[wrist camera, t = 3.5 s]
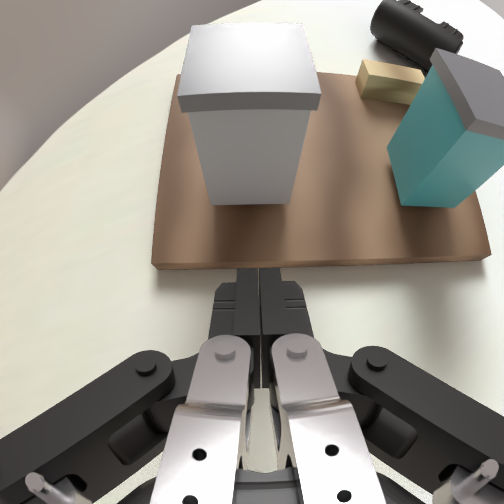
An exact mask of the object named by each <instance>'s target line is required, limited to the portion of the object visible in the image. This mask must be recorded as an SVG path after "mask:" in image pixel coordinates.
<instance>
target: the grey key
mask: <svg viewBox="0 0 504 504" xmlns="http://www.w3.org/2000/svg"><path fill="white" fill-rule="evenodd" d="M177 97H178V101H179V105H180V109H181V113H187V112H188V116H189V120H190V124H191V128H192V132H193V136H194V140H195V144H196V149H197V153H198V157H199V161H200V165H201V169H202V172H203V176H204V180H205V184H206V188H207V192H208V196H209V200H210V204H211V205H244V204H289V203H290V198H291V194H292V190H293V186H294V182H295V178H296V173H297V169H298V165H299V161H300V156H301V152H302V148H303V144H304V139H305V135H306V130H307V126H308V122H309V117H310V113H311V110H313V111H317V110H318V106H319V102H320V98H321V89H320V85H319V81H318V77H317V73H316V69H315V65H314V61H313V57H312V54H311V50H310V46H309V43H308V39H307V36H306V32H305V29H304V25H303V24H294V23H263V22H252V23H221V24H206V25H194V26H192V27H191V32H190V36H189V40H188V45H187V49H186V54H185V58H184V63H183V68H182V73H181V78H180V83H179V88H178V94H177Z"/></svg>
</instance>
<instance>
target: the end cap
mask: <svg viewBox="0 0 504 504" xmlns="http://www.w3.org/2000/svg"><path fill="white" fill-rule="evenodd" d="M422 11H423V8H421V7H420V6H417V5H416V4H414V3H412V2H411V1H410V0H409V1H408V0H399V1H396V0H383V1H382V2H381V3H380V5H379V6H378V8H377V9H376V11H375V13H374V15H373V18H372V21H371V26H370V30H371V33H372V35H374V36H375V38H376V39H377V40H379V41H381V42H383V43H384V44H386V45H388V46H389V47H391V48H393V49H394V50H396V51H398V52H399V53H401V54H402V55H404V56H405V57H407V58H409V59H410V60H412V61H413V62H415V63H416V64H418V65H419V66H421V67H422V68H424V69H425V70H426V71H428V72H429V70H430V68H431V66H432V63H431V61H430V58H431V56H432V54H433V52H434V50H435V48H438V49H442V50H445V51H448V52H451V53H454V54H457V53H458V52H459V50H460V48H461V46H462V44H463V42H462V40H463V35H462V33H460V32H459V31H458V30H457V29H455V28H453V27H452V26H450V25H449V24H448V23H445V22H442V23H441V24H436V23H435V22H433V21H432V20H430V19H428V18H427V17H425V16H423V15H422V14H420V13H421V12H422Z"/></svg>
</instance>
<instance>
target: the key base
mask: <svg viewBox="0 0 504 504" xmlns="http://www.w3.org/2000/svg"><path fill="white" fill-rule="evenodd" d="M316 73H317V77H318V81H319V85H320V89H321V98H320V102H319V106H318V110H317V111H313V110H311V113H310V117H309V122H308V126H307V130H306V135H305V139H304V144H303V148H302V152H301V156H300V161H299V165H298V169H297V173H296V178H295V182H294V186H293V190H292V194H291V198H290V203H289V204H244V205H211V204H210V200H209V196H208V192H207V188H206V184H205V180H204V176H203V172H202V169H201V165H200V161H199V157H198V153H197V149H196V144H195V140H194V136H193V132H192V128H191V124H190V120H189V116H188V112H187V113H181V109H180V105H179V101H178V97H177V94H178V88H179V83H180V78H181V74H178V75H177V77H176V82H175V87H174V92H173V97H172V102H171V107H170V113H169V118H168V124H167V130H166V136H165V143H164V149H163V156H162V163H161V170H160V178H159V186H158V194H157V203H156V213H155V223H154V234H153V246H152V259H151V264H152V265H153V266H155V267H156V268H157V269H218V268H269V267H309V266H343V265H374V264H401V263H426V262H449V261H470V260H482V259H484V258H486V257H488V256H490V255H491V250H490V245H489V241H488V236H487V232H486V228H485V224H484V220H483V216H482V212H481V209H480V205H479V202H478V198H477V195H476V192H475V191H474V192H473V193H472V194H471V195H469V196H468V197H467V198H466V199H465V200H464V201H462V202H461V203H460V204H459V205H458V206H456V207H455V208H446V207H426V206H401V203H400V199H399V194H398V190H397V186H396V181H395V177H394V173H393V169H392V166H391V162H390V158H389V154H388V151H387V145H388V144H389V142H390V140H391V139H392V137H393V135H394V133H395V132H396V130H397V128H398V127H399V125H400V123H401V121H402V120H403V118H404V116H405V114H406V112H407V111H408V109H409V107H410V105H411V103H412V102H413V100H414V98H415V96H416V94H417V93H418V91H419V89H420V87H421V85H422V83H423V82H424V80H425V77H424V75H423V73H422V72H421V70H419V69H414V68H410V67H405V66H400V65H395V64H390V63H384V62H378V61H372V60H366V59H363V60H362V63H361V66H360V69H359V72H358V75H357V76H352V75H343V74H333V73H321V72H316Z"/></svg>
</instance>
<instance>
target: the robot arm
mask: <svg viewBox="0 0 504 504" xmlns="http://www.w3.org/2000/svg"><path fill="white" fill-rule="evenodd" d="M259 315H260V316H259ZM260 341H261V365H262V388H269V392H270V406H269V408H270V416H271V422H272V429H273V435H274V442H275V448H276V455H277V470H278V471H275V472H271V473H259V472H254V471H249V470H248V453H249V442H250V431H251V420H252V406H253V403H254V388H260ZM162 451H164V452H163V455H162V459H161V463H160V467H159V470H158V474H157V477H155V478H153V479H150V480H148V481H146V482H145V483H143V484H141V485H140V486H138V487H137V488H136V489H134V490H133V491H132V492H131V493H129V494H128V495H127V496H126V497H124V498H123V499H122V500H121V501H119V502H118V503H117V504H425V503H424V502H423V501H421V500H420V499H418V498H417V497H415V496H414V495H413V494H411V493H410V492H408V491H407V490H405V489H404V488H403V487H401V486H400V485H399V484H397V483H396V482H394V481H393V480H392V479H390V478H388V477H386V476H385V475H383V474H381V473H378V472H376V471H375V468H374V465H373V463H372V460H371V457H370V454H369V452H370V453H371V454H372V455H374V456H375V457H377V458H378V459H379V460H381V461H382V462H384V463H385V464H387V465H388V466H390V467H391V468H392V469H394V470H395V471H397V472H398V473H400V474H401V475H403V476H404V477H406V478H407V479H409V480H410V481H412V482H414V483H415V484H417V485H418V486H420V487H421V488H423V489H424V490H426V491H428V492H429V493H431V494H432V495H433V500H432V501H433V504H504V417H503V416H502V415H500V414H498V413H496V412H495V411H493V410H491V409H489V408H488V407H486V406H484V405H482V404H481V403H479V402H477V401H475V400H474V399H472V398H470V397H468V396H467V395H465V394H463V393H462V392H460V391H458V390H456V389H455V388H453V387H451V386H449V385H448V384H446V383H444V382H443V381H441V380H439V379H437V378H436V377H434V376H432V375H431V374H429V373H427V372H425V371H424V370H422V369H420V368H419V367H417V366H415V365H413V364H412V363H410V362H408V361H407V360H405V359H403V358H402V357H400V356H398V355H396V354H395V353H393V352H391V351H390V350H388V349H386V348H383V347H379V346H367V347H363V348H361V349H359V350H358V351H356V352H355V353H354V355H353V357H349V356H342V355H337V354H333V353H330V352H328V351H326V350H324V349H323V348H322V347H321V345H320V343H319V342H318V341H317V340H316V339H314V336H313V332H312V327H311V323H310V319H309V315H308V311H307V308H306V302H305V298H304V294H303V290H302V288H301V287H300V286H299V285H298V284H297V283H296V282H295V281H282V280H281V274H280V269H279V268H259V293H258V270H257V268H248V269H237V280H236V282H232V283H222V284H221V285H220V286H219V288H218V289H217V290H216V291H215V298H214V304H213V311H212V317H211V324H210V331H209V337H208V340H207V341H206V342H205V343H204V344H203V345H202V346H201V348H200V351H199V353H197V354H196V355H194V356H191V357H189V358H185V359H181V360H176V361H170V359H169V357H168V356H166V355H165V354H164V353H162V352H159V351H154V350H147V351H141V352H138V353H136V354H134V355H132V356H131V357H129V358H128V359H126V360H124V361H123V362H121V363H120V364H118V365H117V366H115V367H114V368H112V369H111V370H109V371H108V372H106V373H105V374H103V375H101V376H100V377H98V378H97V379H95V380H94V381H92V382H91V383H89V384H87V385H86V386H84V387H83V388H81V389H80V390H78V391H77V392H75V393H73V394H72V395H70V396H69V397H67V398H66V399H64V400H62V401H61V402H59V403H58V404H56V405H55V406H53V407H51V408H50V409H48V410H47V411H45V412H44V413H42V414H40V415H39V416H37V417H36V418H34V419H32V420H31V421H29V422H28V423H26V424H24V425H23V426H21V427H20V428H18V429H16V430H15V431H13V432H11V433H10V434H8V435H7V436H5V437H3V438H2V439H0V504H93V503H94V502H96V501H97V500H98V499H100V498H101V497H103V496H104V495H106V494H107V493H108V492H110V491H111V490H113V489H114V488H115V487H117V486H118V485H119V484H121V483H122V482H124V481H125V480H126V479H128V478H129V477H130V476H132V475H133V474H134V473H136V472H137V471H138V470H140V469H141V468H142V467H143V466H145V465H146V464H147V463H149V462H150V461H151V460H152V459H154V458H155V457H156V456H157V455H159V454H160V453H161V452H162Z"/></svg>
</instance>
